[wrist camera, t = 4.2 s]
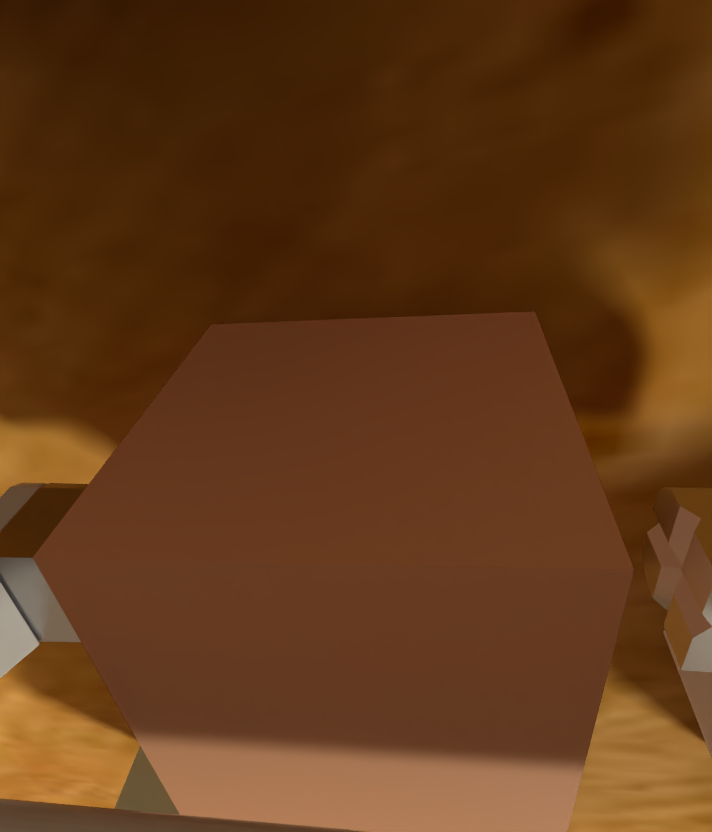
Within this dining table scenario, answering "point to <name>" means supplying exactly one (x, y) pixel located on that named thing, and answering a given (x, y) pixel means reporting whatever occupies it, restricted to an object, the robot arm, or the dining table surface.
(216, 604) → the terracotta cube
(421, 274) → the dining table surface
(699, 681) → the off-white cube
